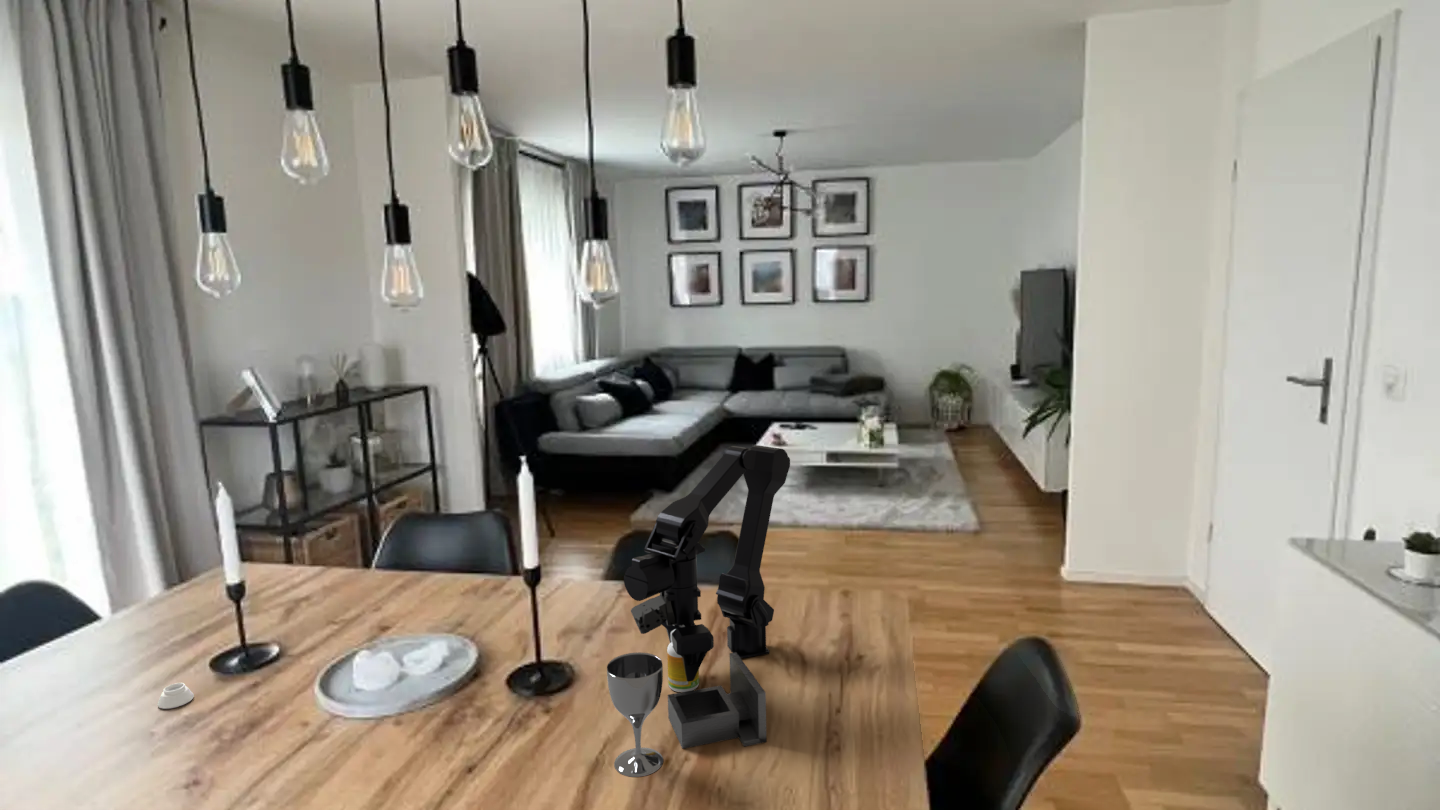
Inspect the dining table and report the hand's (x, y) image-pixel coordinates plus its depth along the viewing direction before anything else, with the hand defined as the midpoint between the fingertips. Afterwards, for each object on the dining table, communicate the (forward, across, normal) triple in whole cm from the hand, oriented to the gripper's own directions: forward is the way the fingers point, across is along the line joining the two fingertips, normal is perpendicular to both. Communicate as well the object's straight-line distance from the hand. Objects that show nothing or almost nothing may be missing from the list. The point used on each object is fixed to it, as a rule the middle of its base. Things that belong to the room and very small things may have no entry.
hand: (683, 668), depth 134 cm
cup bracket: (+3, +14, +1) cm, 14 cm away
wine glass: (+3, +20, -12) cm, 23 cm away
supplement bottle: (+3, 0, 0) cm, 3 cm away
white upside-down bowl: (+4, -24, -84) cm, 87 cm away
